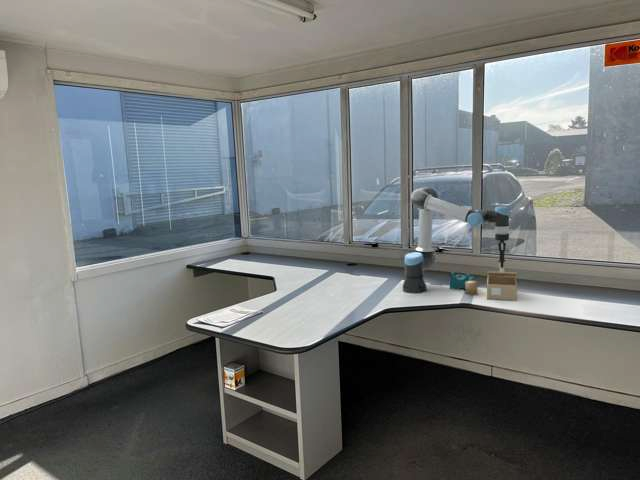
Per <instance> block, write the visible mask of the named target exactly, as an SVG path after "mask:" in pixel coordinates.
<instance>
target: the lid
mask: <svg viewBox="0 0 640 480" xmlns="http://www.w3.org/2000/svg"><path fill="white" fill-rule="evenodd" d="M517 274H518V272H515V271H514V272H513V271H504V272H499V271H488V270H487V271H486V275H487V277H488V276H504V277H517Z"/></svg>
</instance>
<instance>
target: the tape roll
mask: <svg viewBox="0 0 640 480" xmlns="http://www.w3.org/2000/svg"><path fill="white" fill-rule="evenodd" d="M465 294H466V295H469V296H476V295H478V294H479V293H478V281H476V280H473V281H466V282H465Z"/></svg>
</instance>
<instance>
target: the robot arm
mask: <svg viewBox="0 0 640 480" xmlns="http://www.w3.org/2000/svg"><path fill="white" fill-rule="evenodd" d="M439 195H440V194H439V192H438V190H437V189H435V188H434V187H430V186H425V187H421V188H417V189H415V190H413V191H412V192H411V195H410V200H411V203H412V204H413V206H415V207H416V209H417V210H418V211H419V212H418V233H417V234H418V237H417V238H418V239H417V240H418V241H417V247H416V248H415V249H414V250H415V251H414V252H409V253H407V254H405V256H404V262H403V263H404V280H403V283H402V291H403V292H405V293H411V294H412V293H413V294H415V293H424V292H426V291H427V284H426V281H425V278H424V271H426V270H428V269H431V268H433V266H434V265H435V264H436V261H437V259H436V257H437V256H436V254H435V253H434V248H432V241H433V239H432V235H433V218H434V217H433V215H434V214H433V212H437V213H439V214H442V215H445V216H448V217H451V218H453V219H456V220H460V221H463V222H464V223H468V224H469V226H471V227H478V226H481V225H482V224H483V225H484V224H487V223H489V224H492V223H493V224H494V233H495V235H494V239H495V241H499V242H498V243H497V246H498V251H499V258H498V259H499V260H498V263H499V267H498V269H499V271H498V272H505V262H506V260H505V251H506V247H507V244H506V242H505V241H509V240H510V234H509V233H510V229H511V227H510V209H509V207H508V206H505V205H504V206H496V207H495V209H493V210H492V209H475V210H473V209H471V208H466V207H465V206H464V207H463V206H460V205H457V204H455V203H452V202H448V201H446V200H442V199H439V198H440V196H439Z"/></svg>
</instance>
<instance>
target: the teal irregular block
mask: <svg viewBox="0 0 640 480" xmlns="http://www.w3.org/2000/svg"><path fill="white" fill-rule="evenodd" d="M455 273H456V272H455V271H451V272H450V281H449V289H452V290H457V291H458V290H460V289H465V282H466V281H474V276H471V274H470V273H466V274H465V275H463V274H458V273H457V274H455Z"/></svg>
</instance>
